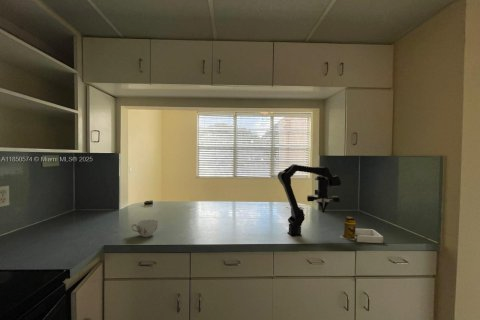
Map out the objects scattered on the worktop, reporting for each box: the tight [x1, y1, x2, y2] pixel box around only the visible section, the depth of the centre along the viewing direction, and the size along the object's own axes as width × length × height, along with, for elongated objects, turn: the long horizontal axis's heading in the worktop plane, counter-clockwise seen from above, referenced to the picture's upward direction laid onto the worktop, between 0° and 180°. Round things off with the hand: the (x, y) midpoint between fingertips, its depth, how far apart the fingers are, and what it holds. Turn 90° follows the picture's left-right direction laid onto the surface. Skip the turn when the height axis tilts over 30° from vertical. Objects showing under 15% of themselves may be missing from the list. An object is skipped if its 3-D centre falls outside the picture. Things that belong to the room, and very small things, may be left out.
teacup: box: [131, 219, 159, 238], centre depth 149 cm, size 15×12×8 cm
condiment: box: [339, 216, 357, 241], centre depth 151 cm, size 7×8×12 cm
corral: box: [355, 227, 384, 244], centre depth 150 cm, size 14×14×4 cm
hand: (323, 212), depth 158 cm, fingers closed
